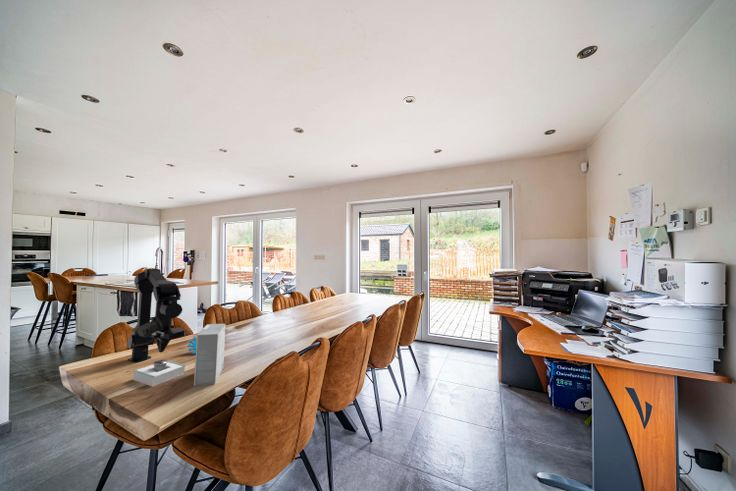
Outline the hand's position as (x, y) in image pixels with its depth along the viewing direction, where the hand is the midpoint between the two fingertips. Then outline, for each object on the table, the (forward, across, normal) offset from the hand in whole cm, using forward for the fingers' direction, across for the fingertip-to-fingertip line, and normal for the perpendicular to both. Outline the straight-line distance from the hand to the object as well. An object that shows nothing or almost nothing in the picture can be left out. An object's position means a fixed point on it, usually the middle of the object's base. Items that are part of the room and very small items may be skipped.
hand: (161, 352), depth 109 cm
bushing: (+10, 0, 0) cm, 10 cm away
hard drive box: (+10, +17, +9) cm, 22 cm away
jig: (+10, 0, 0) cm, 10 cm away
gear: (+10, -11, +26) cm, 30 cm away
